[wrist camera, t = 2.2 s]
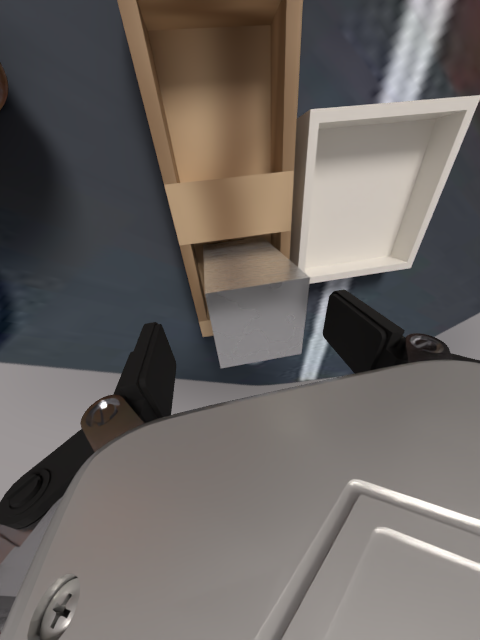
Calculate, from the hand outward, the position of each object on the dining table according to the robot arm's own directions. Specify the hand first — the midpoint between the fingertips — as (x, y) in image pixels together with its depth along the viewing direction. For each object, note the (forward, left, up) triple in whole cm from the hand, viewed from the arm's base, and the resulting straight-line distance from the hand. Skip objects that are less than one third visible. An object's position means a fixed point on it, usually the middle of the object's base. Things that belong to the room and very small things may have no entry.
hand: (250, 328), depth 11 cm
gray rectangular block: (0, 0, -9) cm, 9 cm away
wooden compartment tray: (0, -5, -9) cm, 10 cm away
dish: (-11, -4, -9) cm, 15 cm away
